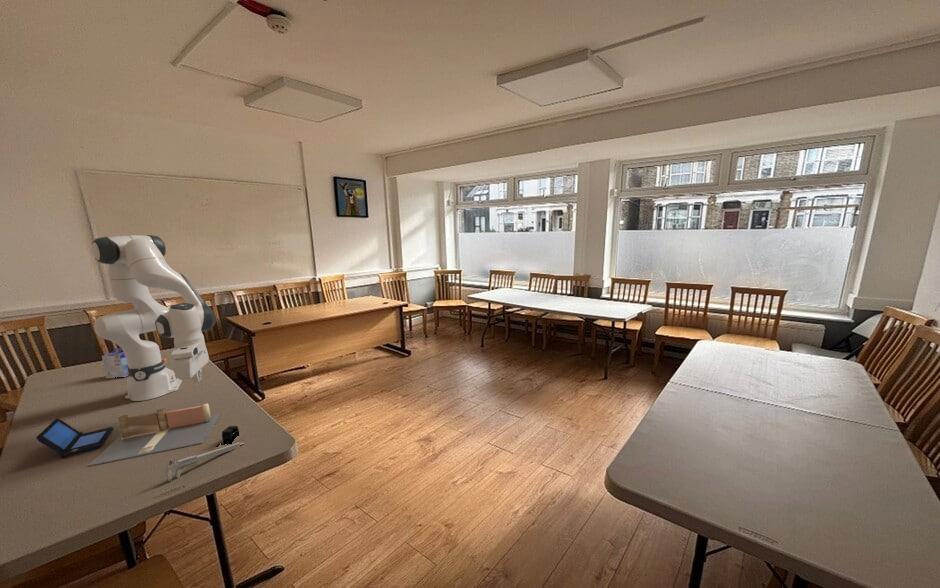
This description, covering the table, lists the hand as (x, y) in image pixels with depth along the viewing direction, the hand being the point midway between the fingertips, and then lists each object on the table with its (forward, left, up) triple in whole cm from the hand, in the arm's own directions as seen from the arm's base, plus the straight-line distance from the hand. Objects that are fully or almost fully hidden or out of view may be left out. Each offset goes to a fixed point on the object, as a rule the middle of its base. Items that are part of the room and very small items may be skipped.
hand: (197, 382), depth 135 cm
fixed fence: (+6, -16, -14) cm, 22 cm away
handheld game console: (+5, -34, -15) cm, 37 cm away
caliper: (+34, +11, -15) cm, 39 cm away
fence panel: (+6, -2, -13) cm, 15 cm away
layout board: (+11, -9, -14) cm, 20 cm away
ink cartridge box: (-70, -57, -14) cm, 92 cm away
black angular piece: (+23, +15, -15) cm, 31 cm away
